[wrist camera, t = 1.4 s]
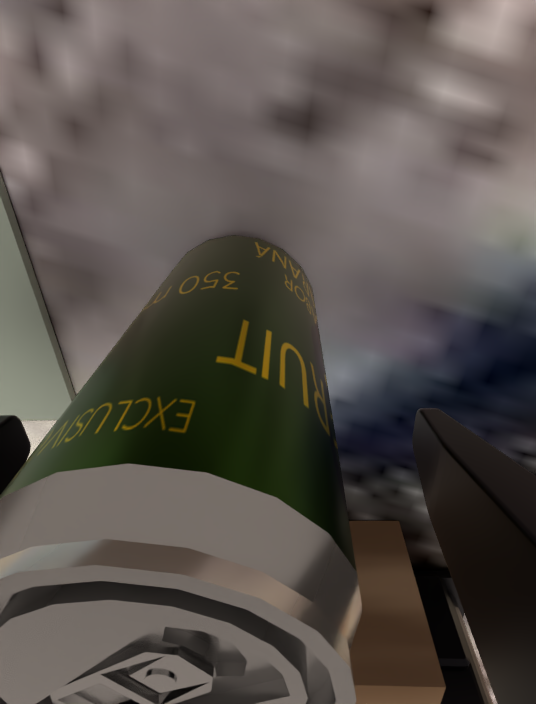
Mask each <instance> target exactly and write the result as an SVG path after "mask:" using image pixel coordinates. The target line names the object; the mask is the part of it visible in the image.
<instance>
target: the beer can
mask: <svg viewBox="0 0 536 704" xmlns="http://www.w3.org/2000/svg"><path fill="white" fill-rule="evenodd" d="M362 611H363V609H362V603H361V596H360V589H359V583H358V576H357V569H356V563H355V557H354V550H353V544H352V538H351V531H350V525H349V519H348V512H347V506H346V500H345V493H344V487H343V481H342V474H341V468H340V462H339V455H338V449H337V443H336V436H335V430H334V424H333V417H332V411H331V405H330V398H329V392H328V386H327V379H326V373H325V367H324V360H323V354H322V348H321V341H320V335H319V329H318V322H317V316H316V310H315V303H314V297H313V291H312V287H311V285H310V283H309V281H308V279H307V277H306V275H305V274H304V272H303V270H302V268H301V266H300V265H298V264H297V263H296V262H295V261H294V260H293V259H292V258H291V257H290V256H289V255H288V254H287V253H286V252H285V251H284V250H283V249H280V248H278V247H276V246H274V245H272V244H270V243H268V242H266V241H264V240H261V239H259V238H251V237H244V236H236V235H232V236H227V237H222V238H217V239H211V240H208V241H206V242H205V243H203V244H201V245H199V246H198V247H196V248H194V249H192V250H191V251H189V252H187V254H186V255H185V256H184V257H183V258H182V260H181V261H180V262H179V263H178V264H177V266H176V267H175V268H174V269H173V270H172V272H171V273H170V274H169V276H168V277H167V278H166V279H165V281H164V282H163V283H162V285H161V286H160V287H159V289H158V290H157V291H156V293H155V294H154V295H153V296H152V298H151V299H150V300H149V302H148V303H147V304H146V306H145V307H144V308H143V309H142V311H141V312H140V313H139V315H138V316H137V317H136V319H135V320H134V321H133V323H132V324H131V325H130V326H129V328H128V329H127V330H126V332H125V333H124V334H123V336H122V337H121V338H120V340H119V341H118V342H117V343H116V345H115V346H114V347H113V349H112V350H111V351H110V353H109V354H108V355H107V357H106V358H105V359H104V360H103V362H102V363H101V364H100V366H99V367H98V368H97V370H96V371H95V372H94V373H93V375H92V376H91V377H90V379H89V380H88V381H87V383H86V384H85V385H84V387H83V388H82V389H81V390H80V392H79V393H78V394H77V396H76V397H75V398H74V400H73V401H72V402H71V404H70V405H69V406H68V407H67V409H66V410H65V411H64V413H63V414H62V415H61V417H60V418H59V419H58V420H57V422H56V423H55V424H54V426H53V427H52V428H51V430H50V431H49V432H48V434H47V435H46V436H45V437H44V439H43V440H42V441H41V443H40V444H39V445H38V447H37V448H36V449H35V451H34V452H33V453H32V454H31V456H30V457H29V458H28V460H27V461H26V462H25V464H24V465H23V466H22V467H21V469H20V470H19V471H18V473H17V474H16V475H15V477H14V478H13V479H12V481H11V482H10V483H9V484H8V486H7V487H6V488H5V490H4V491H3V492H2V494H1V495H0V704H355V703H356V701H357V700H356V692H355V683H354V675H353V670H352V664H351V659H350V654H349V652H350V649H351V646H352V642H353V639H354V636H355V633H356V630H357V626H358V623H359V620H360V617H361V614H362Z"/></svg>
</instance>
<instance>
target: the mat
mask: <svg viewBox="0 0 536 704" xmlns="http://www.w3.org/2000/svg"><path fill="white" fill-rule="evenodd" d="M75 397H76V396H75V393H74V390H73V387H72V384H71V381H70V378H69V375H68V372H67V369H66V366H65V363H64V360H63V357H62V354H61V351H60V348H59V345H58V342H57V339H56V336H55V333H54V330H53V327H52V324H51V321H50V318H49V315H48V312H47V309H46V306H45V303H44V301H43V298H42V295H41V292H40V289H39V286H38V283H37V280H36V277H35V274H34V271H33V268H32V265H31V262H30V259H29V256H28V253H27V250H26V247H25V244H24V241H23V238H22V235H21V232H20V229H19V226H18V223H17V220H16V217H15V214H14V211H13V208H12V205H11V202H10V199H9V196H8V193H7V190H6V188H5V185H4V182H3V179H2V176H1V173H0V415H15V416H17V417H18V418H19V419H20V420H21V421H43V420H58V419H59V418H60V417H61V415H62V414H63V413H64V411H65V410H66V409H67V407H68V406H69V405H70V404H71V402H72V401H73V400H74V398H75Z"/></svg>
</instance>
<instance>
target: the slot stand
mask: <svg viewBox="0 0 536 704" xmlns="http://www.w3.org/2000/svg"><path fill="white" fill-rule="evenodd" d="M349 525H350V531H351V538H352V544H353V550H354V557H355V563H356V569H357V576H358V583H359V589H360V596H361V603H362V609H363V611H362V614H361V617H360V620H359V623H358V626H357V630H356V633H355V636H354V639H353V642H352V646H351V649H350V652H349V654H350V659H351V664H352V670H353V675H354V683H355V692H356V700H357V701H356V703H355V704H441V701H442V698H443V695H444V692H445V689H446V685H445V682H444V678H443V675H442V671H441V668H440V664H439V661H438V657H437V654H436V650H435V647H434V643H433V640H432V636H431V633H430V629H429V626H428V622H427V618H426V615H425V611H424V608H423V604H422V601H421V597H420V594H419V590H418V587H417V583H416V580H415V576H414V573H413V569H412V566H411V562H410V558H409V555H408V551H407V548H406V544H405V541H404V537H403V534H402V530H401V527H400V523H399V521H349Z"/></svg>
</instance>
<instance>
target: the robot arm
mask: <svg viewBox="0 0 536 704" xmlns="http://www.w3.org/2000/svg"><path fill="white" fill-rule="evenodd" d="M412 444H413V450H414V455H415V459H416V463H417V467H418V472H419V476H420V480H421V484H422V489H423V493H424V497H425V501H426V505H427V509H428V513H429V516H430V519H431V522H432V525H433V527H434V530H435V533H436V536H437V538H438V541H439V544H440V547H441V549H442V552H443V555H444V558H445V560H446V563H447V566H448V569H449V571H418V570H413V573H414V576H415V580H416V583H417V587H418V590H419V594H420V597H421V601H422V604H423V608H424V611H425V615H426V618H427V622H428V626H429V629H430V633H431V636H432V640H433V643H434V647H435V650H436V654H437V657H438V661H439V664H440V668H441V671H442V675H443V678H444V682H445V685H446V689H445V692H444V695H443V698H442V701H441V704H493V702H492V699H491V696H490V694H489V691H488V688H487V685H486V682H485V680H484V677H483V674H482V671H481V668H480V666H479V663H478V660H477V657H476V654H475V651H474V649H473V646H472V643H471V640H470V637H469V635H468V632H467V629H466V626H465V623H464V621H463V616H464V613H465V615H466V618H467V621H468V624H469V626H470V629H471V632H472V635H473V637H474V640H475V643H476V646H477V648H478V651H479V654H480V657H481V659H482V662H483V665H484V668H485V670H486V673H487V676H488V679H489V681H490V684H491V687H492V690H493V692H494V695H495V698H496V701H497V703H498V704H536V476H535V475H534V474H533V473H531V472H530V471H528V470H527V469H525V468H524V467H522V466H521V465H519V464H518V463H517V462H515V461H514V460H512V459H511V458H509V457H508V456H506V455H505V454H504V453H502V452H501V451H499V450H498V449H496V448H495V447H493V446H492V445H490V444H489V443H488V442H486V441H485V440H483V439H482V438H480V437H479V436H477V435H476V434H474V433H473V432H472V431H470V430H469V429H467V428H466V427H464V426H463V425H461V424H460V423H458V422H457V421H456V420H454V419H453V418H451V417H450V416H448V415H447V414H445V413H444V412H443V411H441V410H439V409H437V408H421V409H419V410H418V411H417V413H416V418H415V425H414V431H413V438H412ZM30 447H31V446H30V441H29V439H28V436H27V434H26V432H25V429H24V427H23V425H22V422H21V420H20V419H19V418H18V417H17V416H15V415H0V495H1V494H2V492H3V491H4V490H5V488H6V487H7V486H8V484H9V483H10V482H11V481H12V479H13V478H14V477H15V475H16V474H17V473H18V471H19V470H20V469H21V467H22V466H23V465H24V464H25V462H26V460H27V458H28V456H29V453H30Z"/></svg>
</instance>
